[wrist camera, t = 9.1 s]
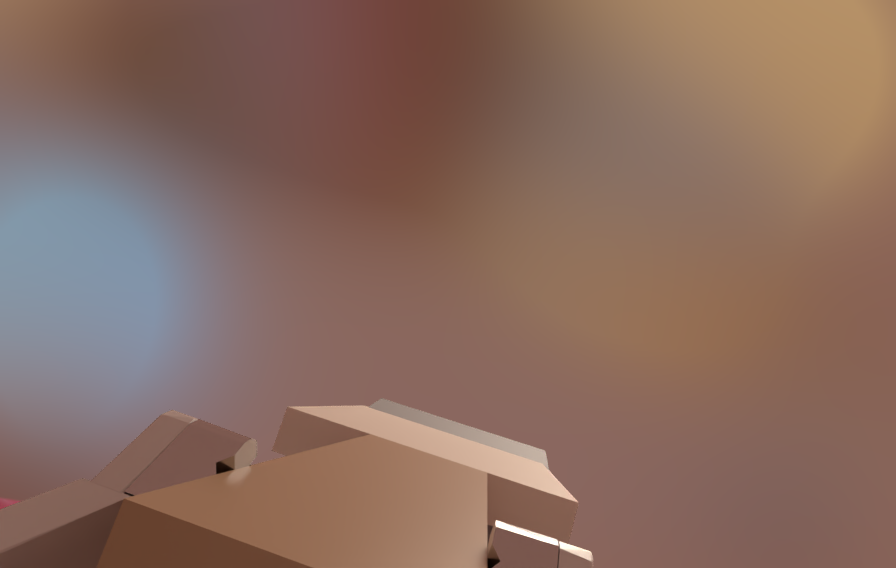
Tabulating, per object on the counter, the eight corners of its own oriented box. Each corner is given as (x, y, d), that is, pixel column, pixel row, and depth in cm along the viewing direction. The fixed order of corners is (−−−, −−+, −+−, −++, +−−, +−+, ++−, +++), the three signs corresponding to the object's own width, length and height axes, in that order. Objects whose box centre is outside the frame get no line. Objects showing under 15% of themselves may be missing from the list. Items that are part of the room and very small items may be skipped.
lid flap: (-178, 548, 6) (-113, 412, 6) (354, 432, 30) (363, 405, 31) (775, 938, 5) (806, 749, 5) (534, 492, 29) (542, 463, 30)
